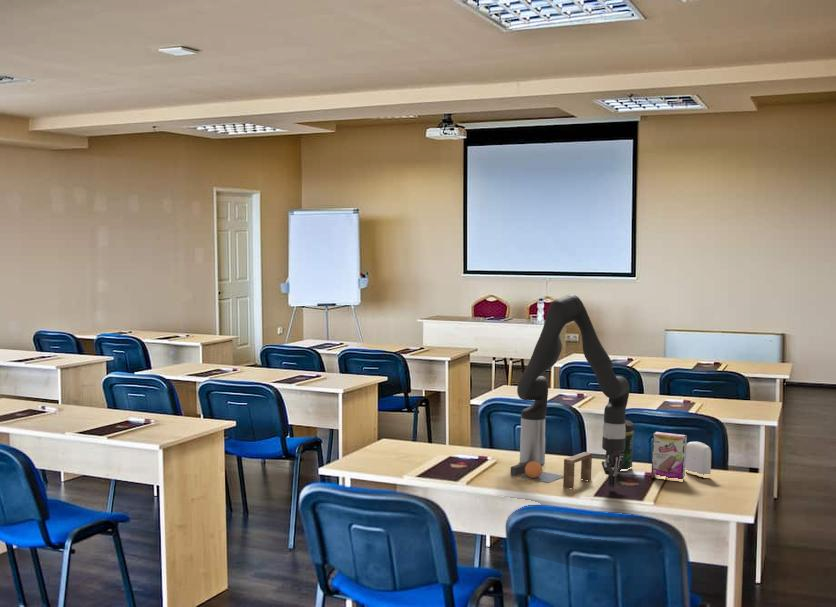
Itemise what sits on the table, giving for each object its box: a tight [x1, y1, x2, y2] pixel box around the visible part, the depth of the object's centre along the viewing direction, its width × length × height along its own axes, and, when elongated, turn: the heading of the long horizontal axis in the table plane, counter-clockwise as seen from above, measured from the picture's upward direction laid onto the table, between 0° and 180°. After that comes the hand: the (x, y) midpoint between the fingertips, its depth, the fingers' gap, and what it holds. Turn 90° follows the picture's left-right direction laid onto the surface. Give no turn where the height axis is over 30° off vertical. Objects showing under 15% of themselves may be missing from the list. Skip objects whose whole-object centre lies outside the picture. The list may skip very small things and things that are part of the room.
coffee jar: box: [621, 419, 635, 469], centre depth 321 cm, size 10×8×19 cm
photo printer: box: [685, 441, 712, 475], centre depth 315 cm, size 10×4×12 cm, turn 26°
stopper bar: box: [509, 461, 529, 477], centre depth 313 cm, size 12×2×3 cm, turn 142°
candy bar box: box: [651, 431, 688, 479], centre depth 308 cm, size 11×5×16 cm, turn 65°
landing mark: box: [518, 471, 564, 484], centre depth 308 cm, size 12×12×1 cm
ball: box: [525, 461, 543, 478], centre depth 305 cm, size 6×6×6 cm
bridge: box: [562, 451, 593, 489], centre depth 299 cm, size 3×15×10 cm, turn 142°
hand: (612, 486), depth 291 cm, fingers closed
